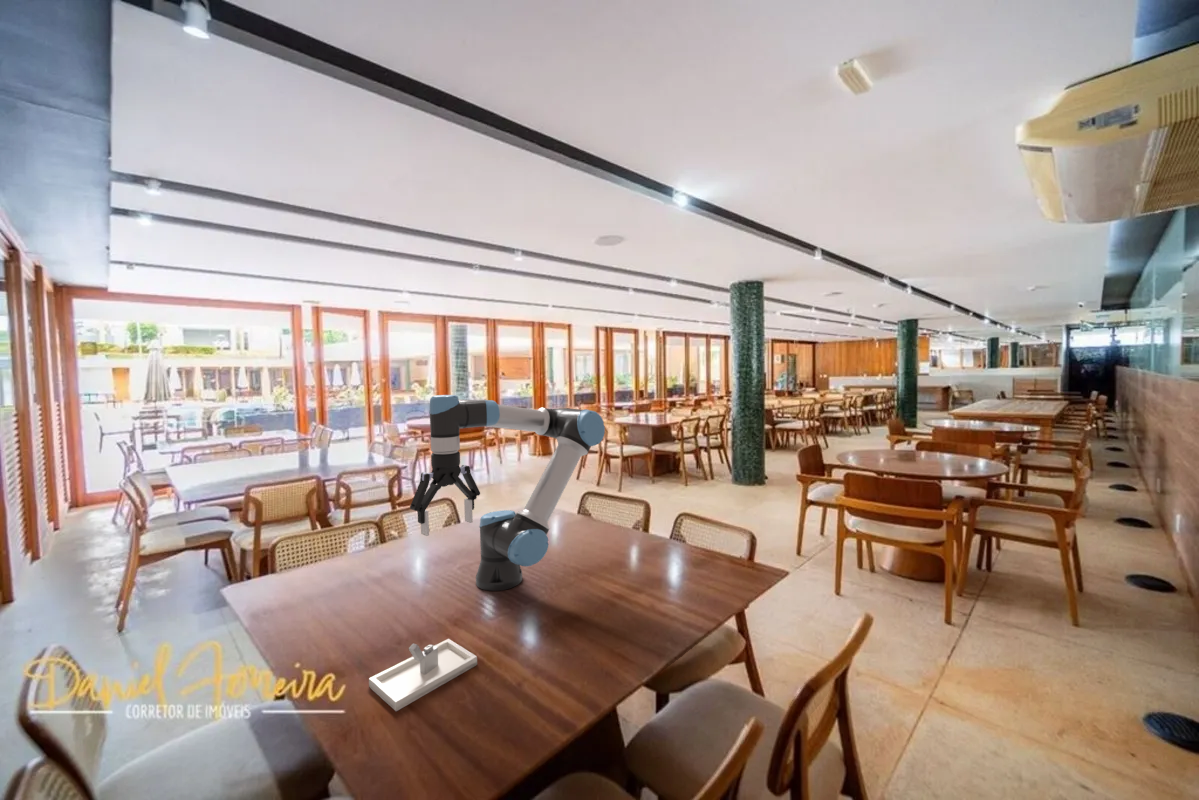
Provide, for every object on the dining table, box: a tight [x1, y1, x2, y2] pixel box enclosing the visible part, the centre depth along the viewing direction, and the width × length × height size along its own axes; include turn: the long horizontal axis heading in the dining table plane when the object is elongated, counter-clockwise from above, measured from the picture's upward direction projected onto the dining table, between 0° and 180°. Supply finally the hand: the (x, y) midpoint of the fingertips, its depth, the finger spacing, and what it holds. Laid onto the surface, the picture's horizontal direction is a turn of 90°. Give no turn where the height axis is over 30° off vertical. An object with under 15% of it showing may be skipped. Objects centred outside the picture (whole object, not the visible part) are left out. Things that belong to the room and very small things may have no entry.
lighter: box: [408, 643, 438, 675], centre depth 109 cm, size 7×2×8 cm, turn 153°
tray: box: [368, 638, 478, 712], centre depth 109 cm, size 20×12×2 cm, turn 140°
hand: (447, 528), depth 131 cm, fingers open, 13 cm apart
